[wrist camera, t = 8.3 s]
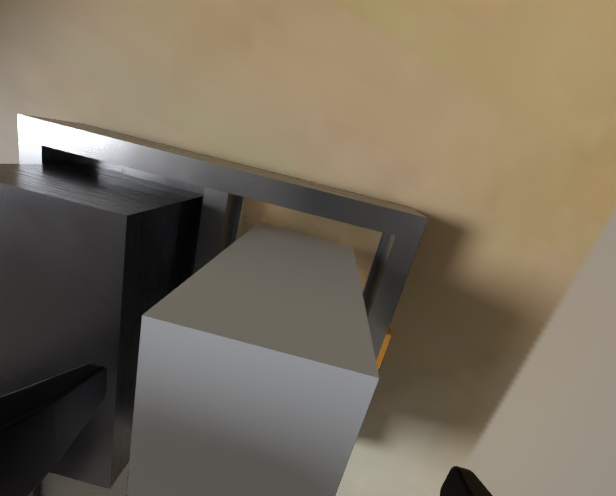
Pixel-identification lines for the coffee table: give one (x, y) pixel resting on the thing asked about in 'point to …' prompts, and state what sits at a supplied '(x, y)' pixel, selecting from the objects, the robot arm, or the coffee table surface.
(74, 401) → the robot arm
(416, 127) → the coffee table surface
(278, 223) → the rack
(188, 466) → the grey block
